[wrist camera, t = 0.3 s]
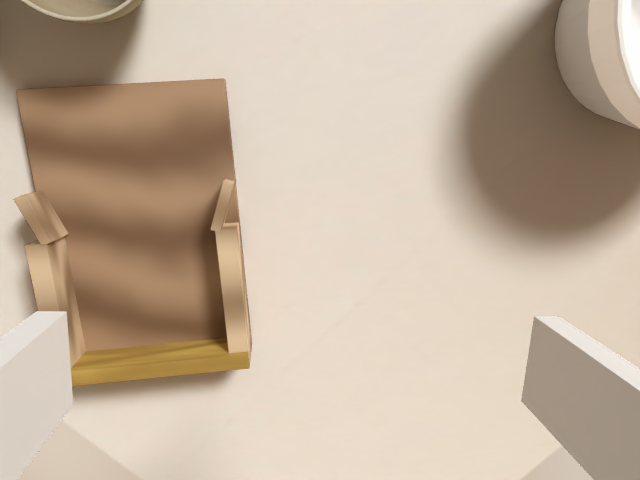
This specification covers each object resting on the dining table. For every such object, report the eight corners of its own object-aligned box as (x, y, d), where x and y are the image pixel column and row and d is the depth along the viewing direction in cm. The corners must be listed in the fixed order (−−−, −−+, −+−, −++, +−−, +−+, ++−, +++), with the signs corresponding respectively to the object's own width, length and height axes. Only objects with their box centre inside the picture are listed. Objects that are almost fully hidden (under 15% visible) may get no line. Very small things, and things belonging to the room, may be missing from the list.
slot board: (21, 90, 35) (-15, 84, 31) (227, 79, 37) (220, 72, 32) (73, 361, 40) (48, 388, 36) (253, 343, 41) (250, 368, 37)
